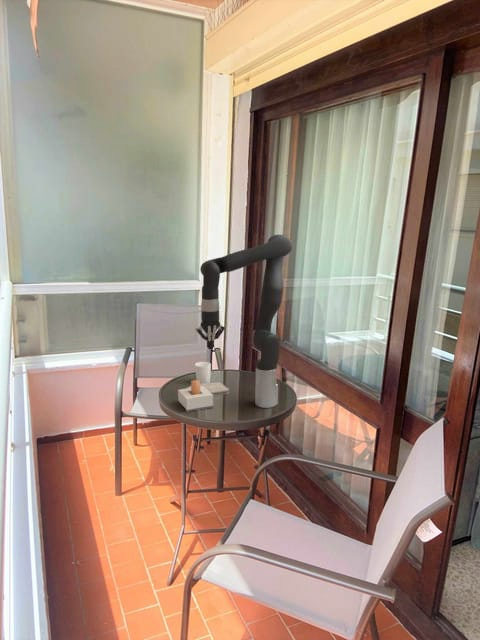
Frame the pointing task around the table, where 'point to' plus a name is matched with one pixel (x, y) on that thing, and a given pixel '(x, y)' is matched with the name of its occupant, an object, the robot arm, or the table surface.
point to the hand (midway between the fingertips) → (210, 348)
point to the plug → (195, 387)
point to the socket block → (195, 399)
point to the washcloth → (215, 388)
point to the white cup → (203, 372)
